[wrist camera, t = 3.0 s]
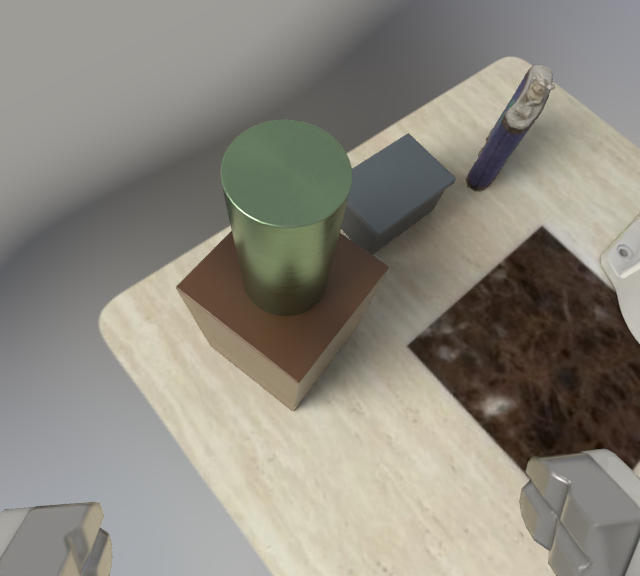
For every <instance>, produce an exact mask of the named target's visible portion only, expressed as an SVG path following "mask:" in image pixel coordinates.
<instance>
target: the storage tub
mask: <svg viewBox="0 0 640 576" xmlns="http://www.w3.org/2000/svg"><path fill="white" fill-rule="evenodd" d="M455 180H456V178H455V177H454V176H453V175H452V174H451V173H450V172H449V171H448V170H446V169H445V168H444V167H443V166H442V165H441V164H440V163H439V162H438V161H437V160H436V159H435V158H434V157H433V156H432V155H431V154H430V153H429V152H428V151H427V150H426V149H424V148H423V147H422V146H421V145H420V144H419V143H418V142H417V141H416V140H415V139H414V138H413V137H412V136H411V135H410V134H409V133H408V134H406V135H405V136H403V137H402V138H400V139H398V140H397V141H395V142H394V143H392V144H391V145H389V146H387V147H386V148H384V149H383V150H381V151H380V152H378V153H376V154H375V155H373V156H372V157H370V158H369V159H367V160H365V161H364V162H362V163H361V164H359V165H358V166H356V167H354V168H353V169H352V184H351V189H350V193H349V197H348V201H347V205H346V209H345V213H344V217H343V221H342V225H341V229H342V230H343V231H344V232H345V233H346V234H347V236H348V237H349V238H350V239H351V240H352V241H353V242H354V243H355V244H357V245H358V246H360V247H361V248H362V249H364V250H365V251H367V252H368V253H370V254H371V255H372V254H373V253H375V252H376V251H377V250H379V249H380V248H381V247H383V246H384V245H386V244H387V243H388V242H390V241H391V240H392V239H394V238H395V237H397V236H398V235H399V234H401V233H402V232H403V231H405V230H406V229H408V228H409V227H410V226H412V225H413V224H414V223H416V222H417V221H419V220H420V219H421V218H423V217H424V216H425V215H427V214H428V213H430V212H431V211H432V210H433V209H434V207H435V206H436V204H437V202H438V201H439V199H440V197H441V195H442V194H443V192H444V190H445V189H446V188H448V187H449V186H450V185H452V184H453V183H454V182H455Z"/></svg>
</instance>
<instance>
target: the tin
mask: <svg viewBox="0 0 640 576" xmlns="http://www.w3.org/2000/svg"><path fill="white" fill-rule="evenodd" d="M221 182H222V187H223V191H224V196H225V200H226V205H227V210H228V215H229V219H230V224H231V229H232V233H233V238H234V243H235V247H236V252H237V257H238V261H239V266H240V271H241V275H242V280H243V285H244V288H245V291H246V293H247V295H248V297H249V298H250V300H251V301H252V302H253V303H254V304H255V305H256V306H257V307H259V308H260V309H262V310H263V311H265V312H268V313H270V314H273V315H278V316H292V315H297V314H301V313H303V312H305V311H307V310H309V309H311V308H312V307H313V306H314V305H316V304H317V303H318V301H319V300H320V299H321V297H322V296H323V294H324V292H325V289H326V287H327V282H328V278H329V274H330V270H331V266H332V262H333V258H334V254H335V250H336V246H337V242H338V238H339V234H340V230H341V225H342V221H343V217H344V213H345V209H346V205H347V201H348V197H349V193H350V189H351V184H352V168H351V164H350V160H349V158H348V156H347V154H346V152H345V150H344V149H343V147H342V146H341V145H340V143H339V142H338V141H337V140H336V139H335V138H334V137H332V136H331V135H330V134H328V133H327V132H326V131H324V130H322V129H320V128H319V127H316V126H314V125H311V124H309V123H305V122H301V121H296V120H272V121H268V122H263V123H261V124H257V125H255V126H253V127H251V128H249V129H247V130H245V131H244V132H242V133H241V134H240V135H239V136H237V137H236V139H234V140H233V141H232V143H231V144H230V146H229V147H228V149H227V150H226V152H225V154H224V157H223V160H222V164H221Z"/></svg>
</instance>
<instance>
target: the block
mask: <svg viewBox="0 0 640 576" xmlns="http://www.w3.org/2000/svg"><path fill="white" fill-rule="evenodd" d="M387 269H388V266H387V265H386V264H384V263H383V262H381V261H380V260H378V259H377V258H375V257H374V256H373V255H371V254H370V253H368V252H367V251H365V250H364V249H362V248H361V247H360V246H358V245H357V244H355V243H354V242H352V241H351V240H350V239H348V238H347V237H345V236H344V235H342V234H341V233H340V234H339V238H338V242H337V246H336V250H335V254H334V258H333V262H332V266H331V270H330V274H329V278H328V282H327V287H326V289H325V292H324V294H323V296H322V297H321V299H320V300H319V301H318V303H317V304H316V305H314V306H313V307H312V308H311V309H309V310H307V311H305V312H303V313H301V314H297V315H292V316H278V315H273V314H270V313H268V312H265V311H263V310H262V309H260V308H259V307H257V306H256V305H255V304H254V303H253V302H252V301H251V300H250V298H249V297H248V295H247V293H246V291H245V288H244V285H243V280H242V275H241V271H240V266H239V261H238V257H237V252H236V247H235V243H234V238H233V233H232V231H231V232H230V233H229V234H228V235H227V236H226V237H225V238H224V239H223V240H222V241H221V242H220V243H219V244H218V245H217V246H216V247H215V248H214V249H213V250H212V251H211V252H210V253H209V254H208V255H207V256H206V257H205V258H204V259H203V260H202V261H201V262H200V263H199V264H198V265H197V266H196V267H195V268H194V269H193V270H192V271H191V272H190V273H189V274H188V275H187V276H186V277H185V278H184V279H183V280H182V281H181V282H180V283H179V284H178V285H177V286H176V289H177V290H178V292H179V294H180V295H181V297H182V299H183V300H184V302H185V304H186V306H187V307H188V309H189V311H190V312H191V314H192V316H193V317H194V319H195V321H196V322H197V324H198V326H199V327H200V329H201V331H202V332H203V334H204V336H205V337H206V339H207V341H208V342H209V344H210V346H211V347H213V348H214V349H215V350H216V351H218V352H219V353H220V354H221V355H223V356H224V357H225V358H226V359H228V360H229V361H230V362H231V363H233V364H234V365H235V366H236V367H238V368H239V369H240V370H241V371H243V372H244V373H245V374H247V375H248V376H249V377H250V378H252V379H253V380H254V381H255V382H257V383H258V384H259V385H260V386H262V387H263V388H264V389H265V390H267V391H268V392H269V393H270V394H272V395H273V396H274V397H275V398H277V399H278V400H279V401H280V402H282V403H283V404H284V405H285V406H287V407H288V408H289V409H290V410H292V411H294V410H295V409H296V407H297V406H298V405H299V403H300V402H301V401H302V399H303V398H304V397H305V395H306V394H307V393H308V391H309V390H310V389H311V387H312V386H313V385H314V383H315V382H316V381H317V380H318V378H319V377H320V376H321V374H322V373H323V372H324V370H325V369H326V368H327V366H328V365H329V364H330V362H331V361H332V360H333V358H334V357H335V356H336V354H337V353H338V352H339V350H340V349H341V348H342V346H343V345H344V344H345V342H346V341H347V340H348V338H349V337H350V336H351V335H352V333H353V332H354V331H355V329H356V327H357V326H358V324H359V322H360V320H361V318H362V316H363V314H364V312H365V311H366V309H367V307H368V305H369V303H370V301H371V299H372V297H373V296H374V294H375V292H376V290H377V288H378V286H379V284H380V283H381V281H382V279H383V277H384V275H385V273H386V271H387Z"/></svg>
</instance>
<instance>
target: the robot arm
mask: <svg viewBox="0 0 640 576" xmlns="http://www.w3.org/2000/svg"><path fill="white" fill-rule="evenodd" d="M620 253H621V254H622V255H621V254H620ZM600 262H601V265H602V267H603V269H604V271H605V273H606V274H607V276H608V277H609V279H610V280H611V282H612V283H613V285H614V287H615V290H616V293H617V297H618V302H619V306H620V309H621V312H622V315H623V318H624V320H625V322H626V324H627V326H628V328H629V330H630V331H631V333H632V334H633V336H634V337H635V339H636V340H637V341H638V343H639V344H640V214H639V215H638V216H637V218H636V219H635V220H634V221H633V222H632V223H631V224H630V225H629V226H628V227H627V228H626V229H625V230H624V231H623V232H622V233H621V234H620V236H619V237H618V238H617V239H616V240H615V241H614V242H613V243H612V244H611V245H610V246H609V247H608V248H607V249H606V250H605V251H604V253H603V254H602V255H601V257H600ZM526 473H527V474H528V476H529V477H530V479H531V480H530V481H529V482H528V483H527V484H526V485H525V486H524V487H523V488H522V490H521V496H520V501H519V502H520V508H521V514H522V518H523V520H524V523H525V525H526V528H527V529H528V531H529V533H530V534H531V536H532V538H533V539H534V541H536V542H537V543H539V544H540V545H541V546H543V547H544V548H546V549H547V550H549V557H548V563H549V565H550V567H551V568H552V570H553V571H554V573H555V575H556V576H640V478H639V477H638V476H637V475H636V474H635V473H634V472H633V471H632V470H631V469H630V468H629V467H628V466H627V465H626V464H625V463H624V462H623V461H622V460H621V459H620V458H619V457H618V456H617V455H616V454H614V453H613V452H611V451H609V450H607V449H600V450H591V451H582V452H571V453H562V454H553V455H544V456H536V457H532V458H531V460H530V461H529V462H528V465H527V469H526ZM103 518H104V514H103V511H102V508H101V506H100V503H97V502H89V503H75V504H62V505H49V506H36V507H29V508H16V509H5V510H4V511H2V512H1V513H0V576H110V570H111V563H112V543H111V539H110V536H109V534H108V533H107V532H106V531H104V530H103V529H101V528H100V526H101V523H102V520H103Z"/></svg>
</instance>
